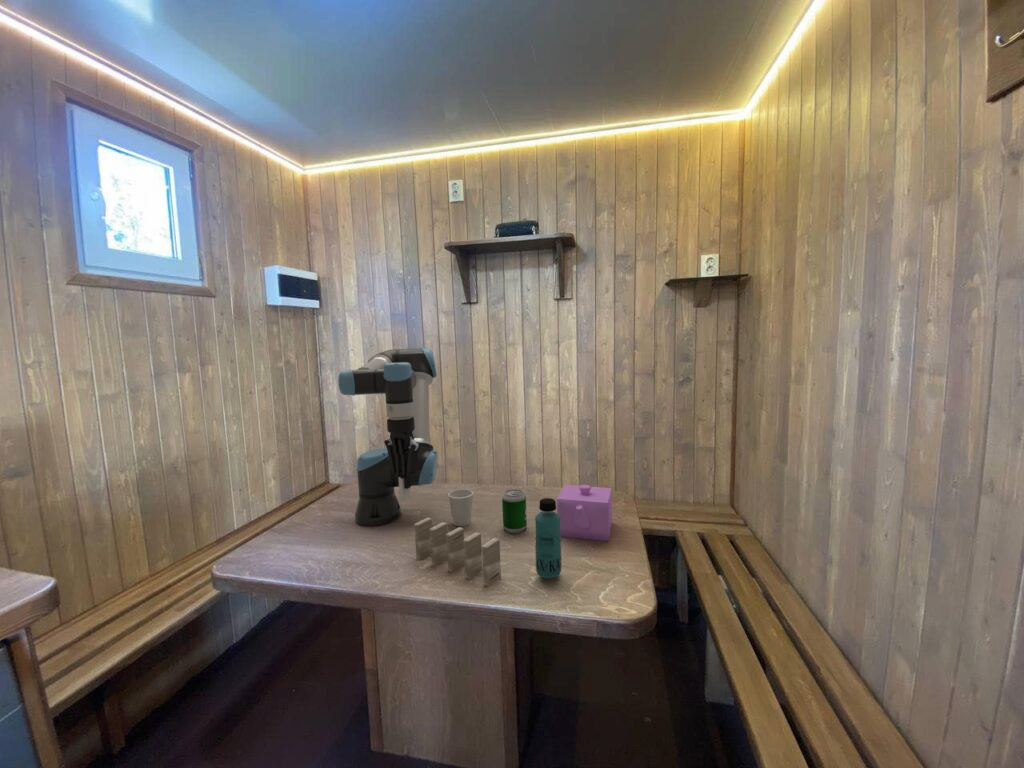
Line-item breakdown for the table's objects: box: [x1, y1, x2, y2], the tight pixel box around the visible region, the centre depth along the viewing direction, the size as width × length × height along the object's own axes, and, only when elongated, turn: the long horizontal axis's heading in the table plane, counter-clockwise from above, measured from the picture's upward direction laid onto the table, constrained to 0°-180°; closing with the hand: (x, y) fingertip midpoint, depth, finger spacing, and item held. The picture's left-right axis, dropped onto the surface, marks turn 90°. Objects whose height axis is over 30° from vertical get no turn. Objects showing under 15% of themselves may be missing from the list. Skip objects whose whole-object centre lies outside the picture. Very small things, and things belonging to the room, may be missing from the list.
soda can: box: [501, 488, 528, 534], centre depth 133 cm, size 8×8×12 cm
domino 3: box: [446, 526, 465, 574], centre depth 111 cm, size 2×5×10 cm, turn 145°
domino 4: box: [463, 532, 483, 581], centre depth 108 cm, size 2×5×10 cm, turn 144°
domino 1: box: [414, 517, 433, 561], centre depth 118 cm, size 2×5×10 cm, turn 145°
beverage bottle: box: [534, 497, 563, 579], centre depth 105 cm, size 6×7×20 cm
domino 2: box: [430, 521, 449, 567], centre depth 115 cm, size 2×5×10 cm, turn 145°
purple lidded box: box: [556, 484, 613, 542], centre depth 130 cm, size 15×25×14 cm, turn 162°
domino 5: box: [481, 537, 502, 588], centre depth 104 cm, size 2×5×10 cm, turn 144°
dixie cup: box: [447, 488, 474, 527], centre depth 140 cm, size 8×8×10 cm
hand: (405, 498), depth 121 cm, fingers closed
